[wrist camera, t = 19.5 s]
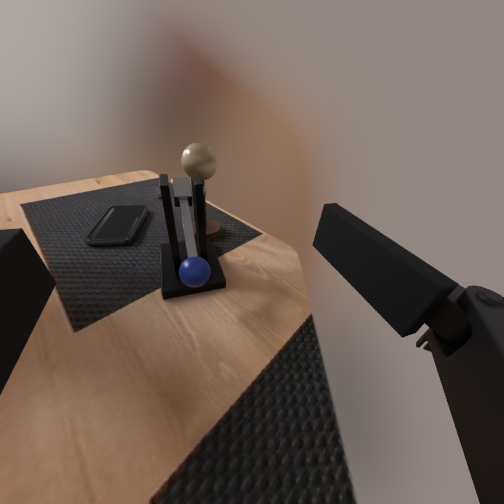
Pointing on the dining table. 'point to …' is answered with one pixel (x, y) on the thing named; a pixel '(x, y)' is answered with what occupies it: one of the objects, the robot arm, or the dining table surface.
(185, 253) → the switch bracket
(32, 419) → the dining table surface
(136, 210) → the phone
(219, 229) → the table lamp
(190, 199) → the switch lever
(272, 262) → the dining table surface
